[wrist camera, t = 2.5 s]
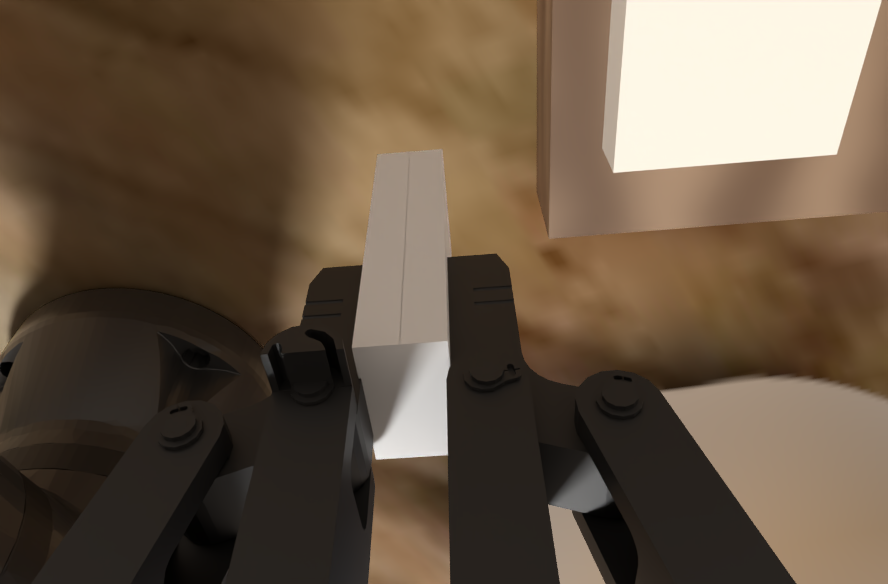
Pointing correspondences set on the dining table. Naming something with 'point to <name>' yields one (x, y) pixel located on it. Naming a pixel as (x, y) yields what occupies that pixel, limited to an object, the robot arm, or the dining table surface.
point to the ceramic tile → (730, 79)
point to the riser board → (697, 187)
